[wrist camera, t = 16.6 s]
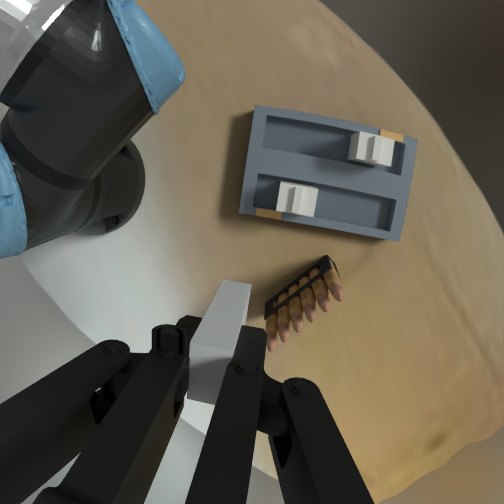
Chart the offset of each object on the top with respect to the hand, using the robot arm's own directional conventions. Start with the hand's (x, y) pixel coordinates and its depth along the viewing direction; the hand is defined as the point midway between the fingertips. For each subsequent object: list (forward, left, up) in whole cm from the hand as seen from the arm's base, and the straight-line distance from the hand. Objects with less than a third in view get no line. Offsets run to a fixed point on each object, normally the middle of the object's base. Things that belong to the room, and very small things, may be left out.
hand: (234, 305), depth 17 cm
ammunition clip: (+6, -7, -25) cm, 26 cm away
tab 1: (+3, +4, -23) cm, 24 cm away
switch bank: (+7, +8, -24) cm, 27 cm away
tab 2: (+11, +11, -23) cm, 28 cm away
